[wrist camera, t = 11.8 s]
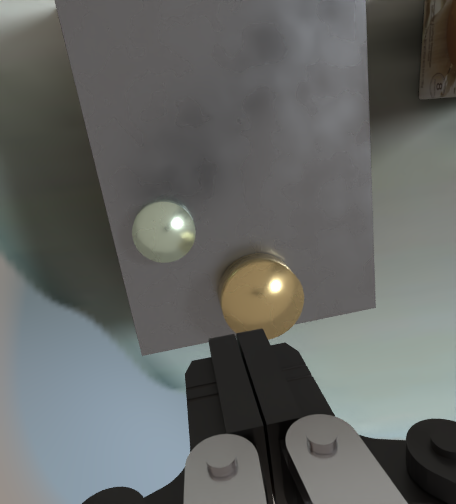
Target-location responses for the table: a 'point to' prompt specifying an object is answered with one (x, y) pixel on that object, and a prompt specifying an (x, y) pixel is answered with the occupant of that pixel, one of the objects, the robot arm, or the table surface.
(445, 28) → the coffee box
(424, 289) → the table surface
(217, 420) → the robot arm
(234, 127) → the level plate
